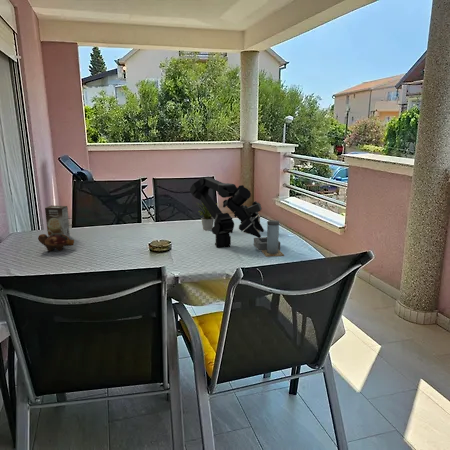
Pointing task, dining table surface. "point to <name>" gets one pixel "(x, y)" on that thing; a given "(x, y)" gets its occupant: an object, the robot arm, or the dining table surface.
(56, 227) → the coffee box
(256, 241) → the frame
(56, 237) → the decorative turtle
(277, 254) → the mat
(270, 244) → the ball
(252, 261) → the dining table surface
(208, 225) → the house plant
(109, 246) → the dining table surface
